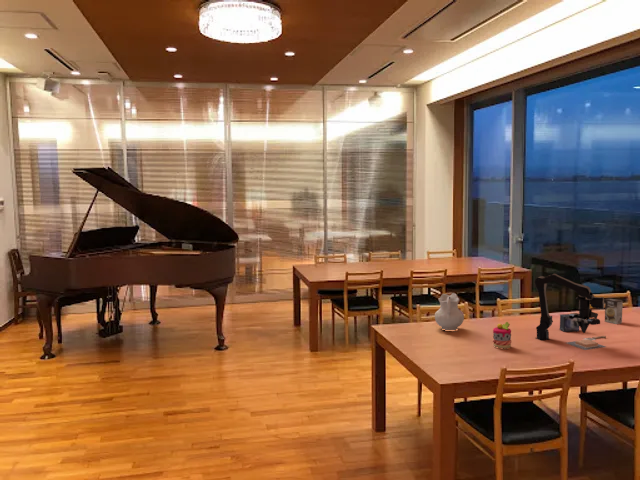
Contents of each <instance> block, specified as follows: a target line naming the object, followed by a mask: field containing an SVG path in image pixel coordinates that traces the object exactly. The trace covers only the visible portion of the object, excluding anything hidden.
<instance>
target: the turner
mask: <svg viewBox="0 0 640 480" xmlns="http://www.w3.org/2000/svg"><path fill="white" fill-rule="evenodd" d="M606 338H607V336H606V335H600V336H592V337H586V338H583V340H587V339H588V340H591V341H597V339H606Z"/></svg>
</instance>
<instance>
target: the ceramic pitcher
mask: <svg viewBox="0 0 640 480" xmlns="http://www.w3.org/2000/svg"><path fill="white" fill-rule="evenodd" d="M438 302H439V305H440V308H439V309H438V310H437V311H435V313H434V320H435V323H437V325H438V326H439V327H440V328H442V329H445V330H456V329H458V330H459V328H458V327H460V326H461V325H463V322H464V321H465V315H464V312H463V311H462V310H461V309H460V308H458V306H459V302H460V297H458V294H456V293H455V292H452V293H451V295H449V294H447V293H446V294H445V293H442V294H441V296H440V297H439V298H438Z"/></svg>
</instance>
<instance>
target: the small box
mask: <svg viewBox="0 0 640 480" xmlns="http://www.w3.org/2000/svg"><path fill="white" fill-rule="evenodd" d="M570 314H571V313H567V314H565V313H564V314H559V330H560V331H561V332H564V333H568V332H569V333H571V332H576V333H577V332H580V326H579V324H578V323H577V322H576V321H577V318H574V319H570V318H569V315H570Z"/></svg>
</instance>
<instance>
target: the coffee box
mask: <svg viewBox="0 0 640 480" xmlns="http://www.w3.org/2000/svg"><path fill="white" fill-rule="evenodd" d="M623 304H624V302H623V300H622V299H617V298H604V322H605V323H610V324H613V325H618V324H623Z"/></svg>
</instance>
